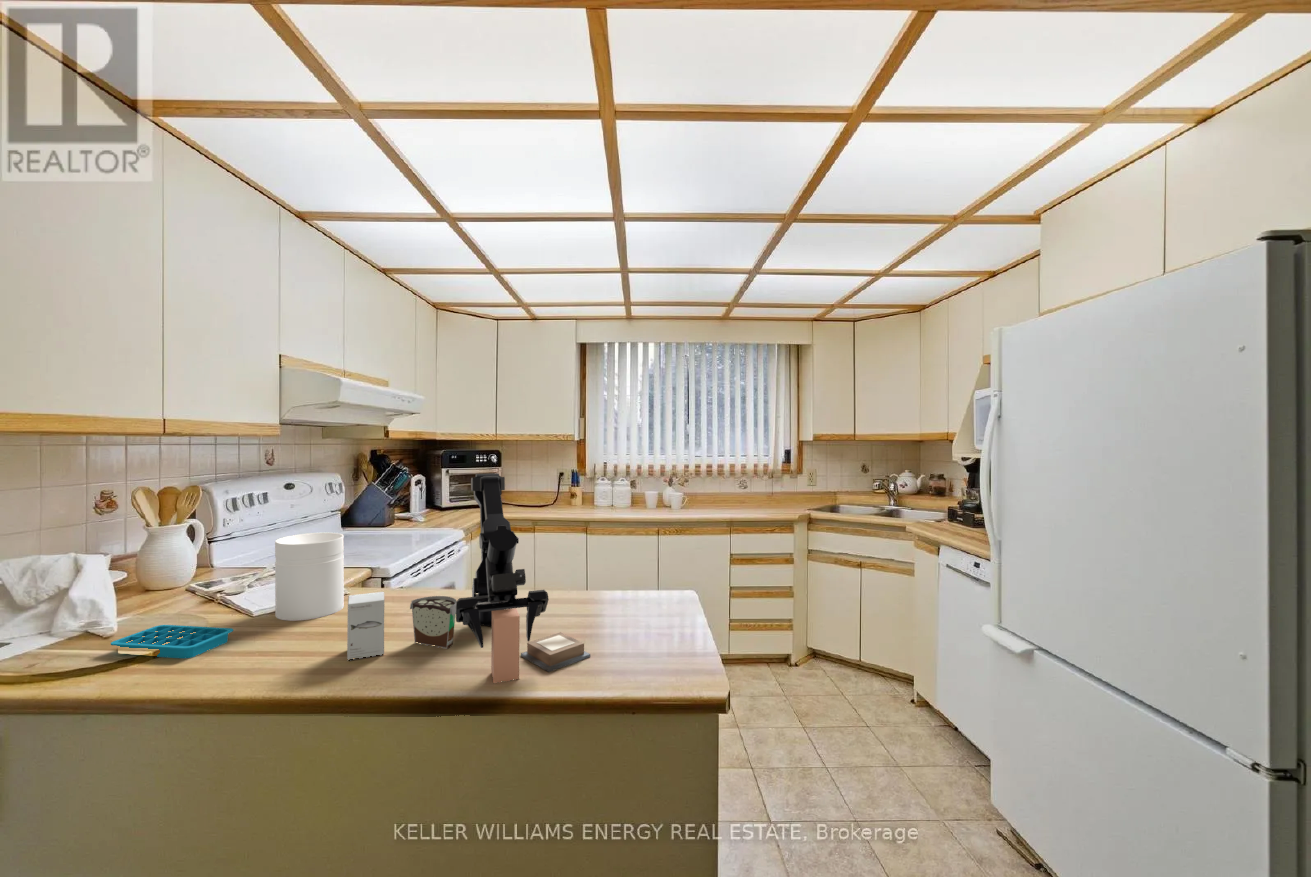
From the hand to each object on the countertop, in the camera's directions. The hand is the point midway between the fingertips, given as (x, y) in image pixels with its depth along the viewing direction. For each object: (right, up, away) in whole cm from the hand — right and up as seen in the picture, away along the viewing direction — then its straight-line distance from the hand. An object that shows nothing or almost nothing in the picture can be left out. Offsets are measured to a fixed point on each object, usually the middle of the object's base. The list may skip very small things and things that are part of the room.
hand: (505, 643), depth 111 cm
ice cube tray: (-80, -6, +14) cm, 81 cm away
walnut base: (+8, -7, +11) cm, 15 cm away
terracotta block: (0, -7, +1) cm, 7 cm away
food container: (-21, -7, +19) cm, 29 cm away
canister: (-65, -6, +39) cm, 76 cm away
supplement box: (-35, -7, +12) cm, 37 cm away
